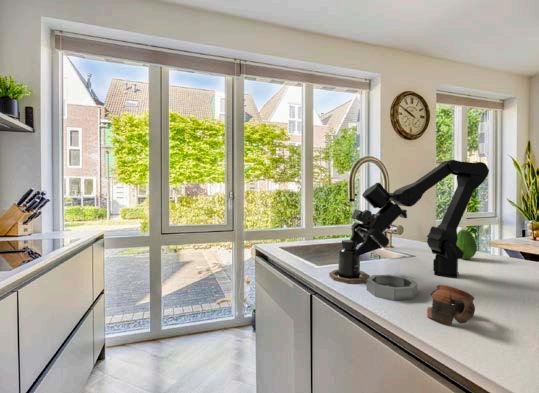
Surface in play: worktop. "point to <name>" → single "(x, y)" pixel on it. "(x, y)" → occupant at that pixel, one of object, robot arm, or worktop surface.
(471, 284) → the worktop surface
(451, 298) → the pottery mug
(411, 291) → the hub socket
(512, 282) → the worktop surface
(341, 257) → the supplement bottle
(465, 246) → the avocado
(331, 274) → the walnut ring
